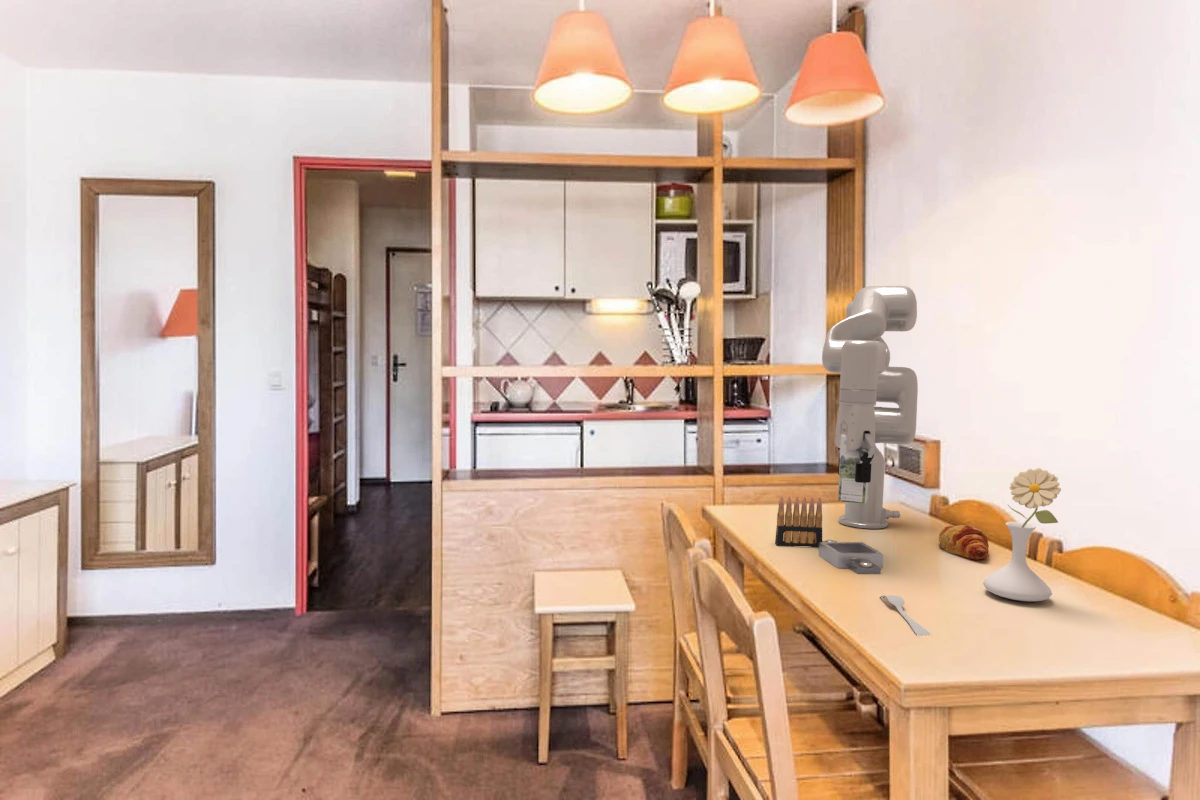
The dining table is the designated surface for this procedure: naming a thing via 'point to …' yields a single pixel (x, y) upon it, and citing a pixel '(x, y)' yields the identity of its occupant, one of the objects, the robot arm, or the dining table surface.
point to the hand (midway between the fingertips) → (853, 478)
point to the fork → (915, 626)
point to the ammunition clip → (799, 524)
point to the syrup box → (850, 476)
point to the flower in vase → (1025, 538)
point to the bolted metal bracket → (852, 556)
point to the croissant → (964, 541)
